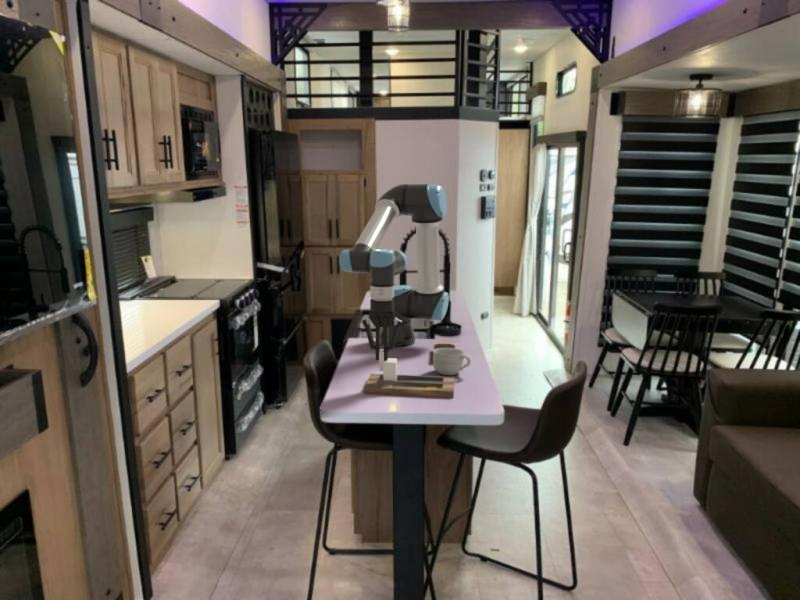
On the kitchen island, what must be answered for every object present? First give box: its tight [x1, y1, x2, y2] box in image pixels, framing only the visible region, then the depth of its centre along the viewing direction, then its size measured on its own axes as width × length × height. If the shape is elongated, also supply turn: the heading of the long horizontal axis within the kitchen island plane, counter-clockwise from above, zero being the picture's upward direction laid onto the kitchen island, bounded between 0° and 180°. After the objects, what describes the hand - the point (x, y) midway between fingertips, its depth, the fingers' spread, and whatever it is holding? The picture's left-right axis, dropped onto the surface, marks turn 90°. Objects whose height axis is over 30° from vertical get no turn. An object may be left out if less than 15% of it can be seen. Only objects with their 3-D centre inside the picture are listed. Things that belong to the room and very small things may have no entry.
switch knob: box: [382, 357, 398, 381], centre depth 190 cm, size 4×4×7 cm
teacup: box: [432, 348, 472, 376], centre depth 204 cm, size 14×11×8 cm
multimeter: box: [433, 342, 457, 350], centre depth 223 cm, size 9×18×3 cm, turn 175°
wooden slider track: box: [364, 373, 455, 398], centre depth 190 cm, size 13×28×3 cm, turn 84°
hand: (381, 369), depth 190 cm, fingers closed
